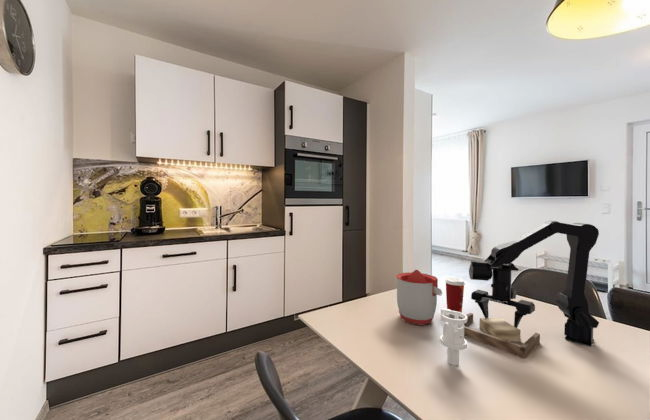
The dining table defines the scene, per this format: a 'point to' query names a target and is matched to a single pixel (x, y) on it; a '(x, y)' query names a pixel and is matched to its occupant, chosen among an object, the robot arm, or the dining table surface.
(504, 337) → the cream rectangular block
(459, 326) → the white flanged plastic holder
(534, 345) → the brown angled piece
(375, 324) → the dining table surface
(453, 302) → the paper cup
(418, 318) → the citrus juicer
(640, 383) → the dining table surface
